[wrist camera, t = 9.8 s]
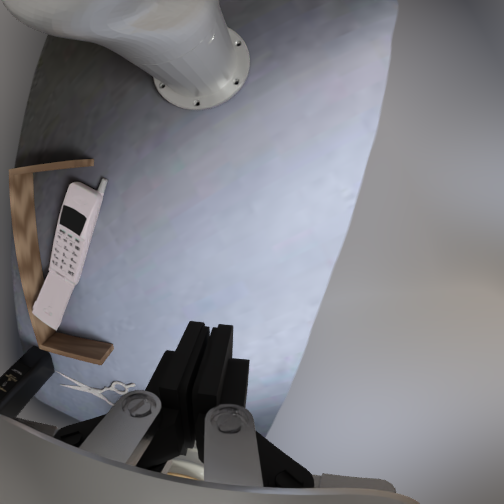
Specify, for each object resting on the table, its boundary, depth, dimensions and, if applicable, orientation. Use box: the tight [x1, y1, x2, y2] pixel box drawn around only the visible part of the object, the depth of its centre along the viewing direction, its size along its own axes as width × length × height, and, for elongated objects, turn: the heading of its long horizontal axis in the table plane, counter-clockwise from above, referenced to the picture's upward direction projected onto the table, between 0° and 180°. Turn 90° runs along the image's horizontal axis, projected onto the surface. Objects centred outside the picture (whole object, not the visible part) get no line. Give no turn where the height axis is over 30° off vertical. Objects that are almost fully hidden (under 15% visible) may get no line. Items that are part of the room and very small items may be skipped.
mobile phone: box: [32, 178, 108, 331], centre depth 39 cm, size 6×6×25 cm
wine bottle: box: [0, 346, 54, 418], centre depth 35 cm, size 6×6×30 cm
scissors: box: [56, 371, 135, 406], centre depth 51 cm, size 11×1×20 cm
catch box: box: [9, 159, 114, 365], centre depth 40 cm, size 31×14×5 cm, turn 178°
